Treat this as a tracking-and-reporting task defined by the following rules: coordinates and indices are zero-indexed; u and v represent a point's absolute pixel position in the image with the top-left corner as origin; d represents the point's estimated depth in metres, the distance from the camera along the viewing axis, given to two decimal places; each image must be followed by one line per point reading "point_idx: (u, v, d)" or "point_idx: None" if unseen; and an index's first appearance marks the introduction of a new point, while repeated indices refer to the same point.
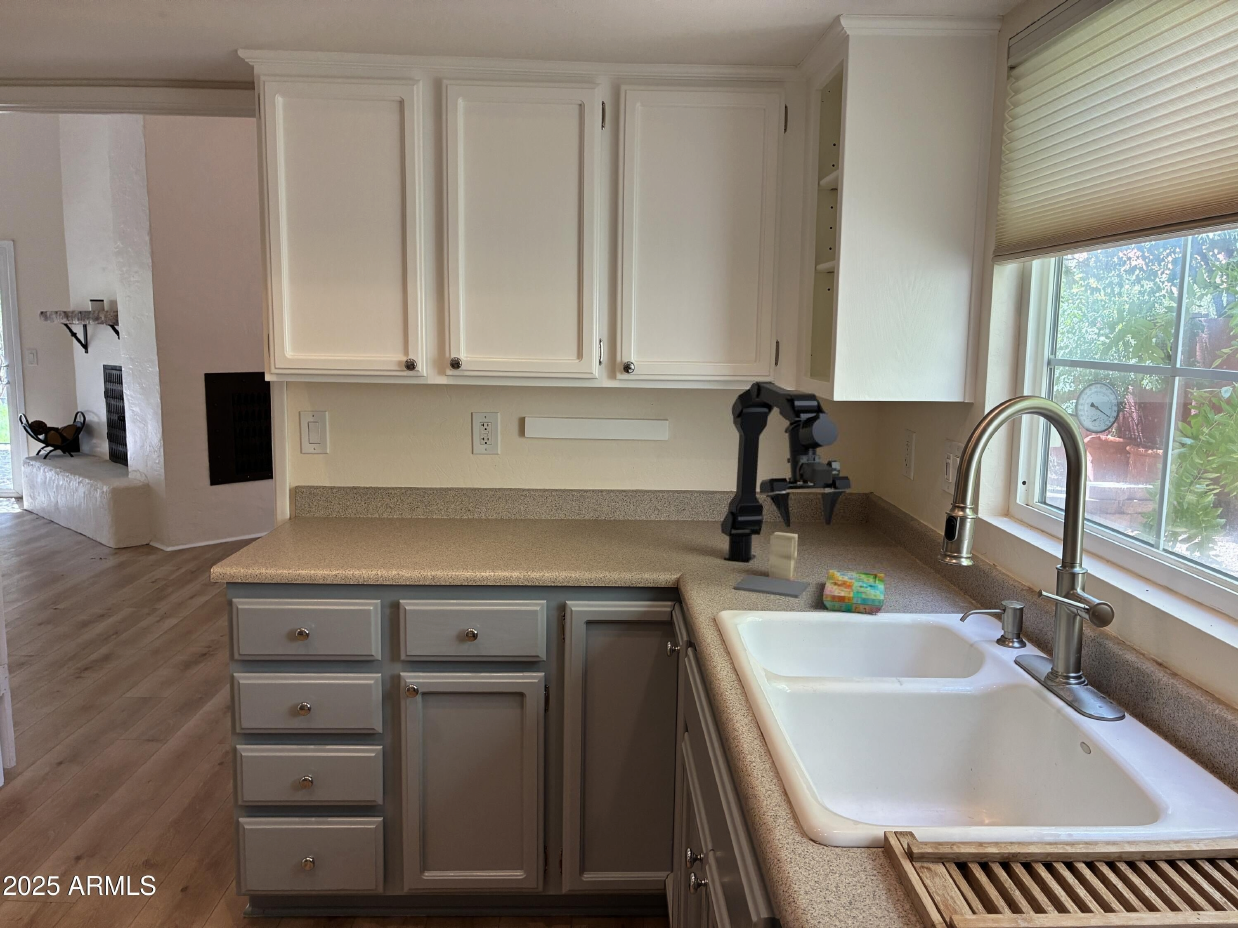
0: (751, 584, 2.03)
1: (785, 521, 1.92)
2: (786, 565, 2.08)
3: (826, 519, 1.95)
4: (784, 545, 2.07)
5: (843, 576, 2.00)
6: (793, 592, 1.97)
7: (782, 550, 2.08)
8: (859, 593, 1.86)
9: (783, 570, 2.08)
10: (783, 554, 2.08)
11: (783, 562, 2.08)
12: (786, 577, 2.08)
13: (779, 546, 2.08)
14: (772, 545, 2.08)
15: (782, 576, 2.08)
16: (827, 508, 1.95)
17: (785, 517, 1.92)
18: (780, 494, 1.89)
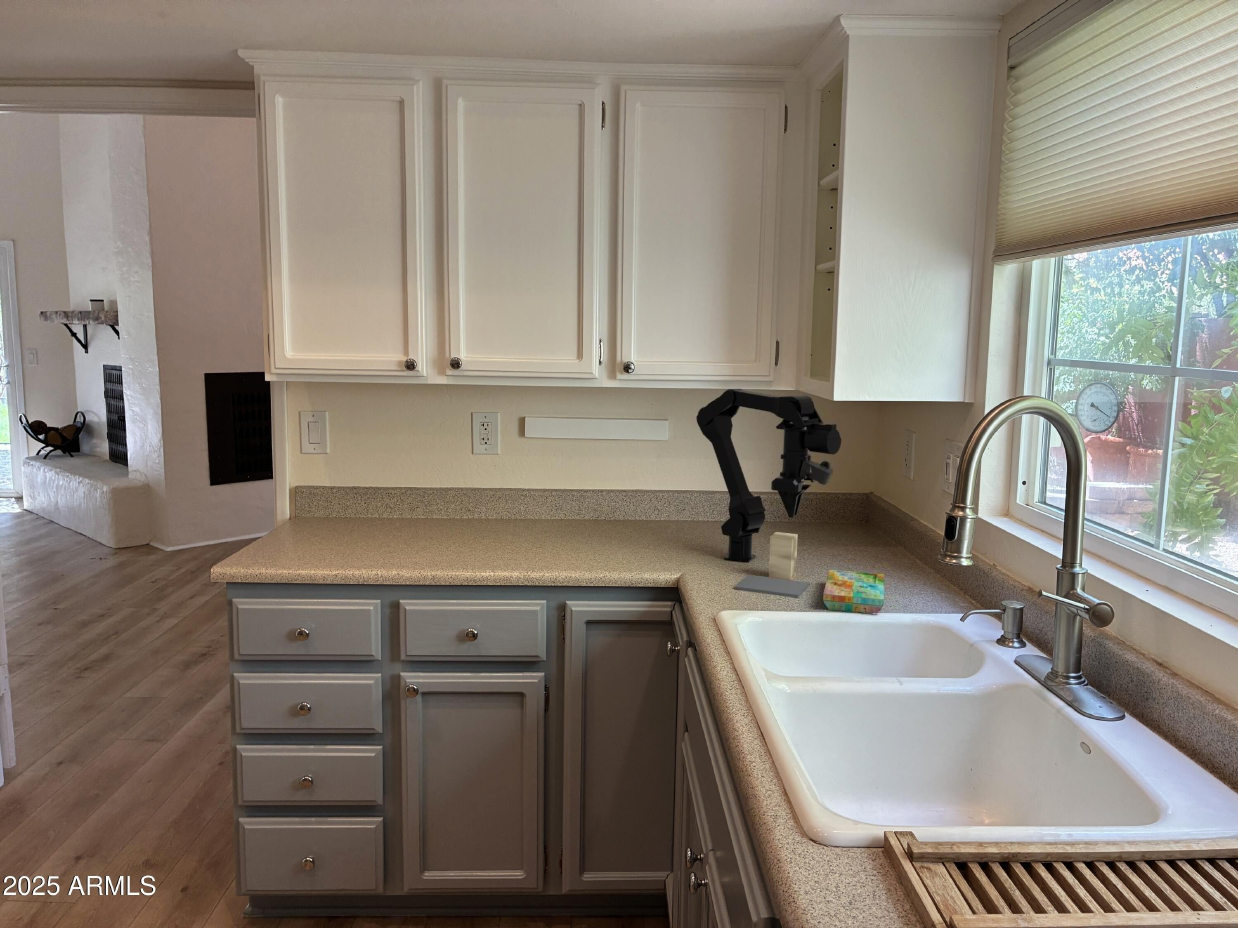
0: (751, 584, 2.03)
1: (790, 512, 2.14)
2: (786, 565, 2.08)
3: None
4: (784, 545, 2.07)
5: (843, 576, 2.00)
6: (793, 592, 1.97)
7: (782, 550, 2.08)
8: (859, 593, 1.86)
9: (783, 570, 2.08)
10: (783, 554, 2.08)
11: (783, 562, 2.08)
12: (786, 577, 2.08)
13: (779, 546, 2.08)
14: (772, 545, 2.08)
15: (782, 576, 2.08)
16: None
17: (792, 509, 2.13)
18: (801, 491, 2.10)
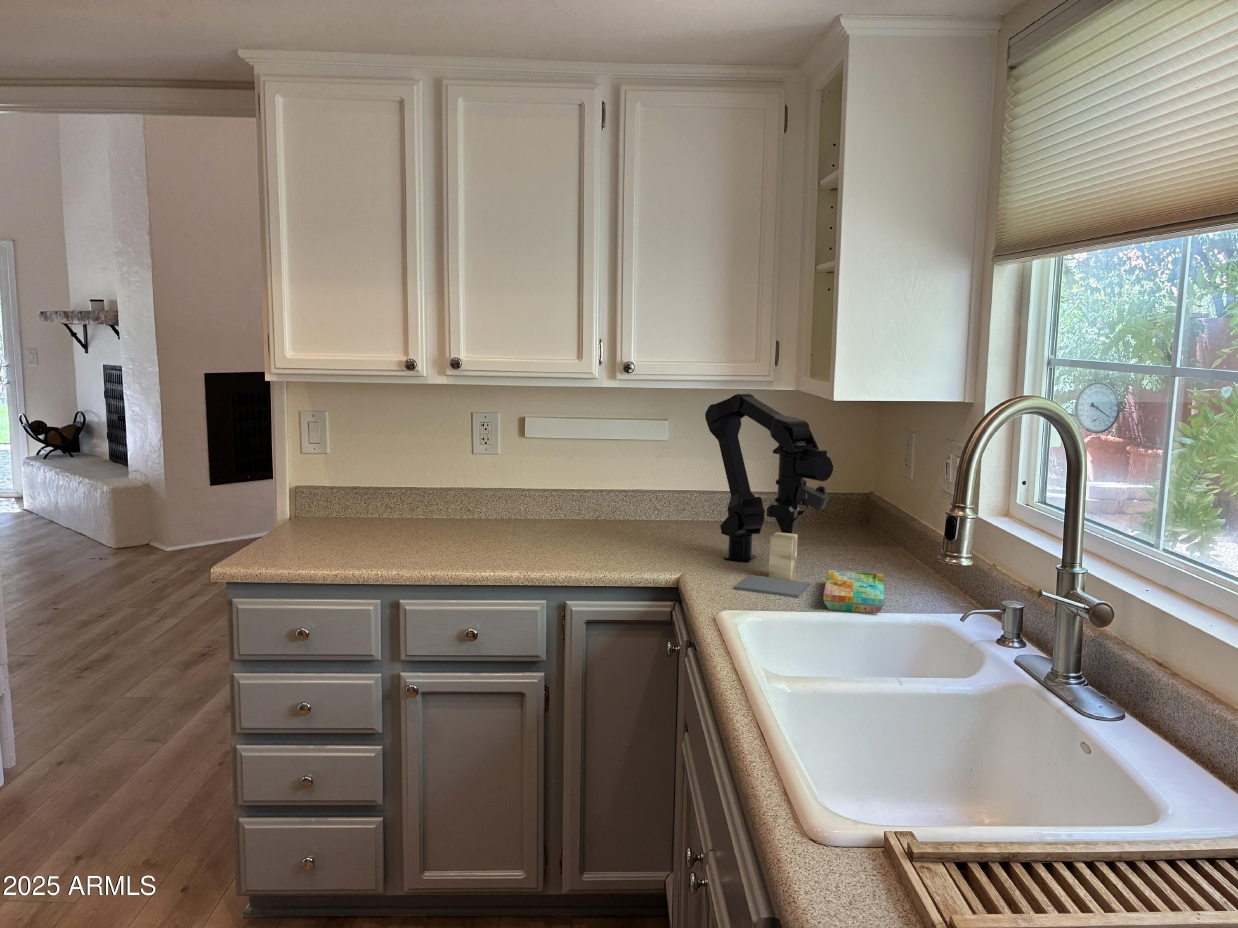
0: (751, 584, 2.03)
1: None
2: (786, 565, 2.08)
3: None
4: (784, 545, 2.07)
5: (842, 576, 2.00)
6: (793, 592, 1.97)
7: (782, 550, 2.08)
8: (859, 593, 1.86)
9: (783, 570, 2.08)
10: (783, 554, 2.08)
11: (783, 562, 2.08)
12: (786, 577, 2.08)
13: (779, 546, 2.08)
14: (772, 545, 2.08)
15: (782, 576, 2.08)
16: None
17: None
18: (798, 516, 2.09)
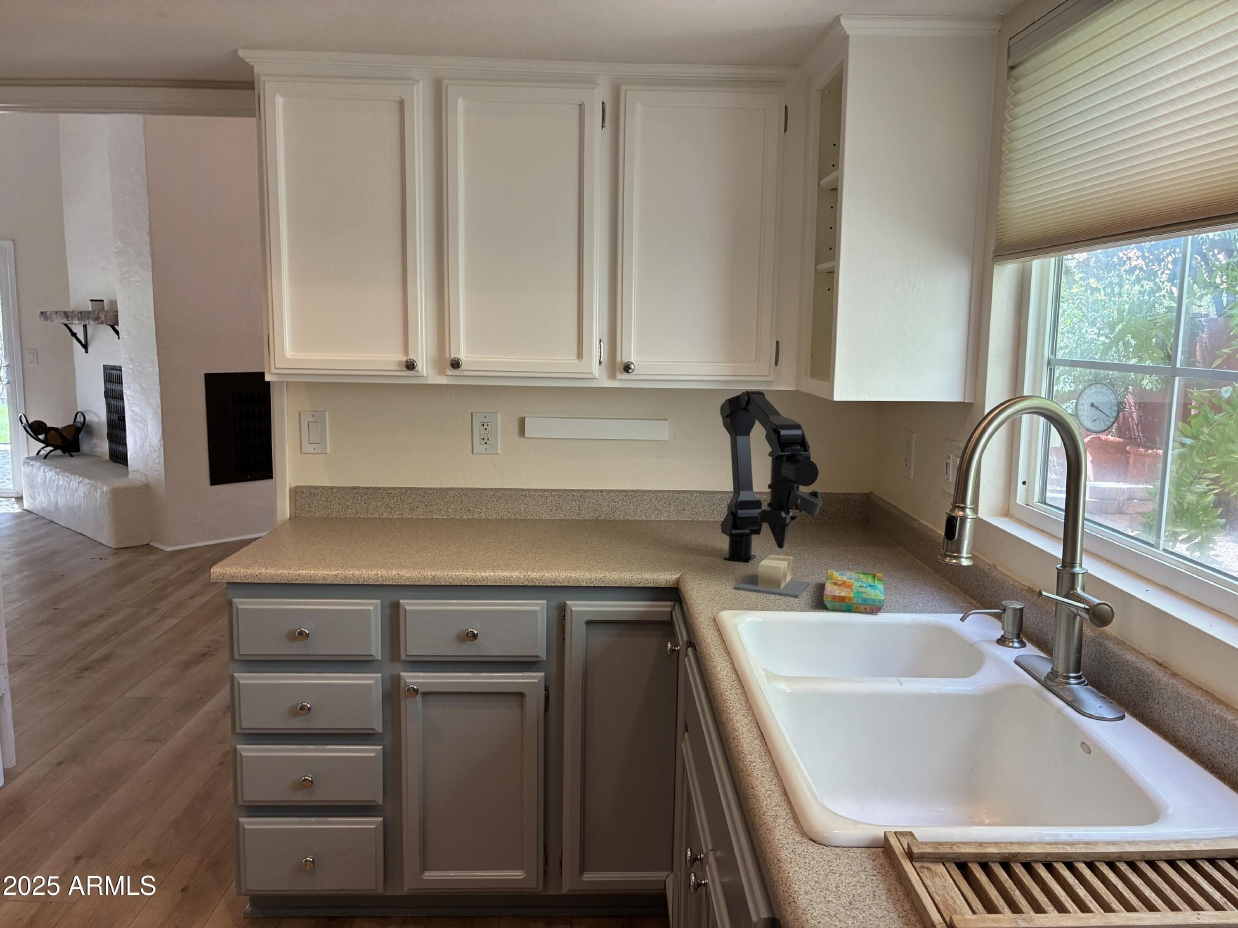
0: (751, 584, 2.03)
1: (779, 543, 2.07)
2: None
3: None
4: None
5: (842, 576, 2.00)
6: (793, 592, 1.97)
7: None
8: (859, 593, 1.86)
9: None
10: None
11: None
12: None
13: None
14: None
15: None
16: None
17: (782, 540, 2.06)
18: (791, 522, 2.03)
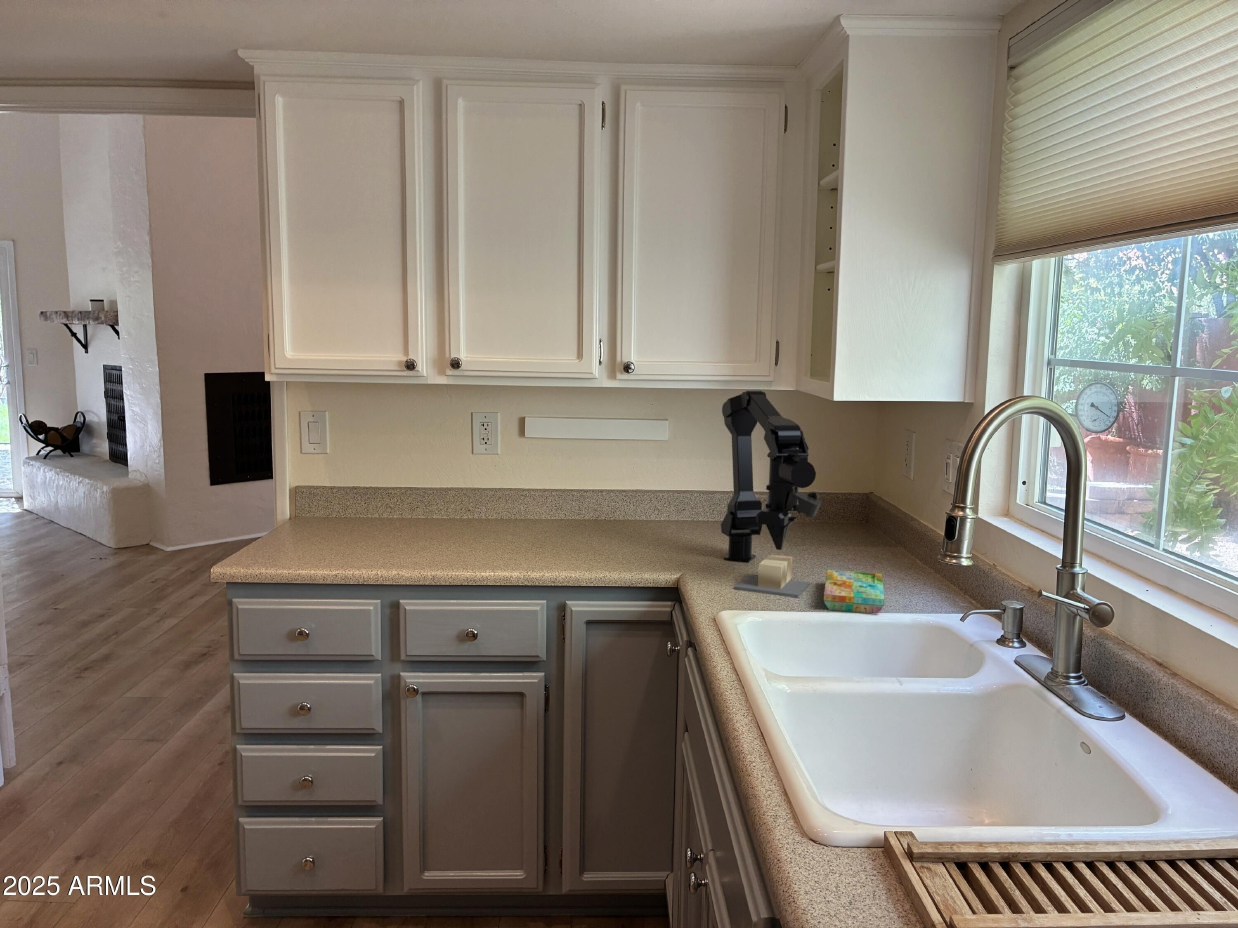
0: (751, 584, 2.03)
1: (778, 544, 2.06)
2: None
3: None
4: None
5: (841, 576, 2.00)
6: (793, 592, 1.97)
7: None
8: (859, 593, 1.86)
9: None
10: None
11: None
12: None
13: None
14: None
15: None
16: None
17: (780, 541, 2.05)
18: (789, 523, 2.02)
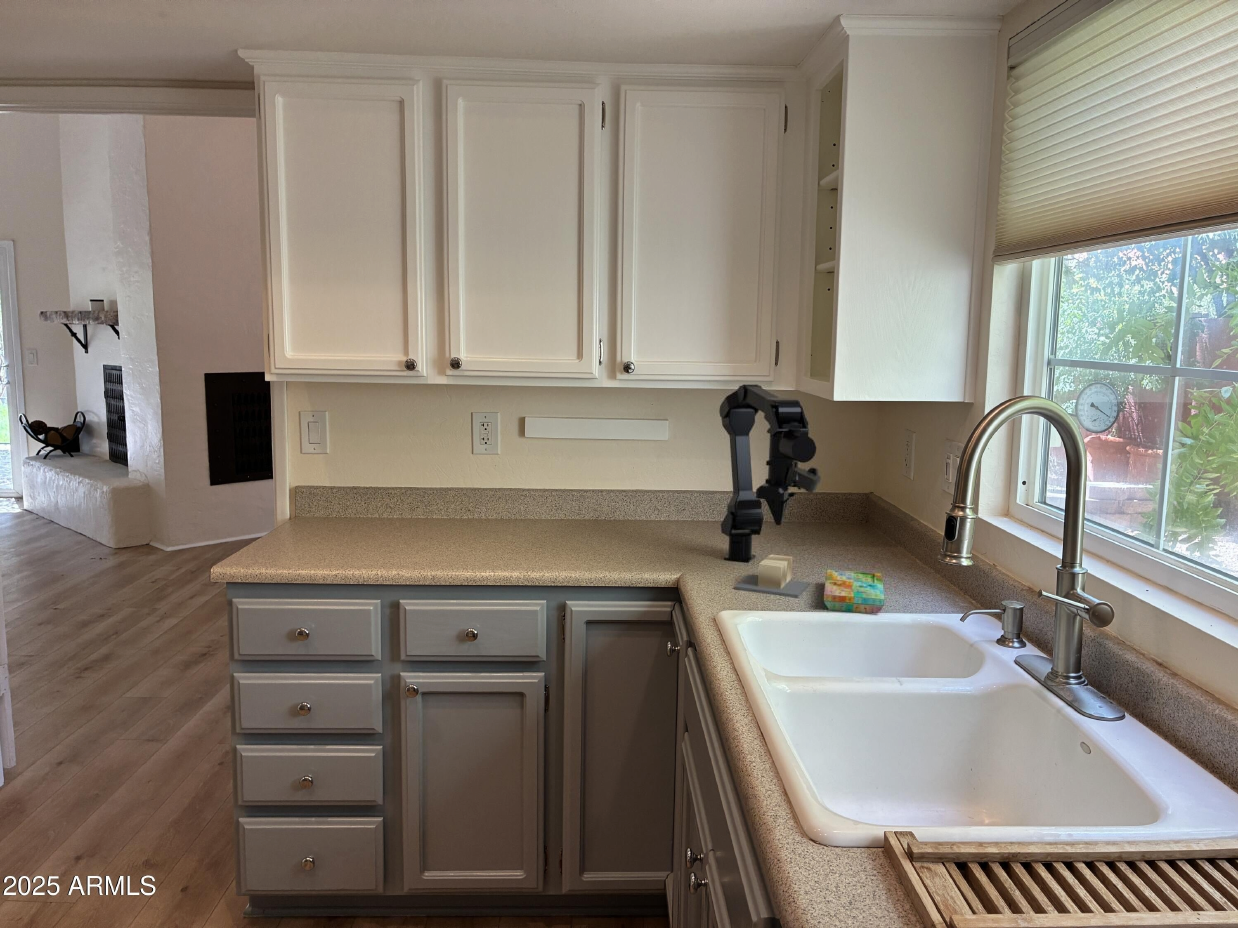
0: (751, 584, 2.03)
1: (777, 520, 2.06)
2: None
3: None
4: None
5: (841, 576, 2.00)
6: (793, 592, 1.97)
7: None
8: (859, 593, 1.86)
9: None
10: None
11: None
12: None
13: None
14: None
15: None
16: None
17: (780, 517, 2.06)
18: (789, 499, 2.02)
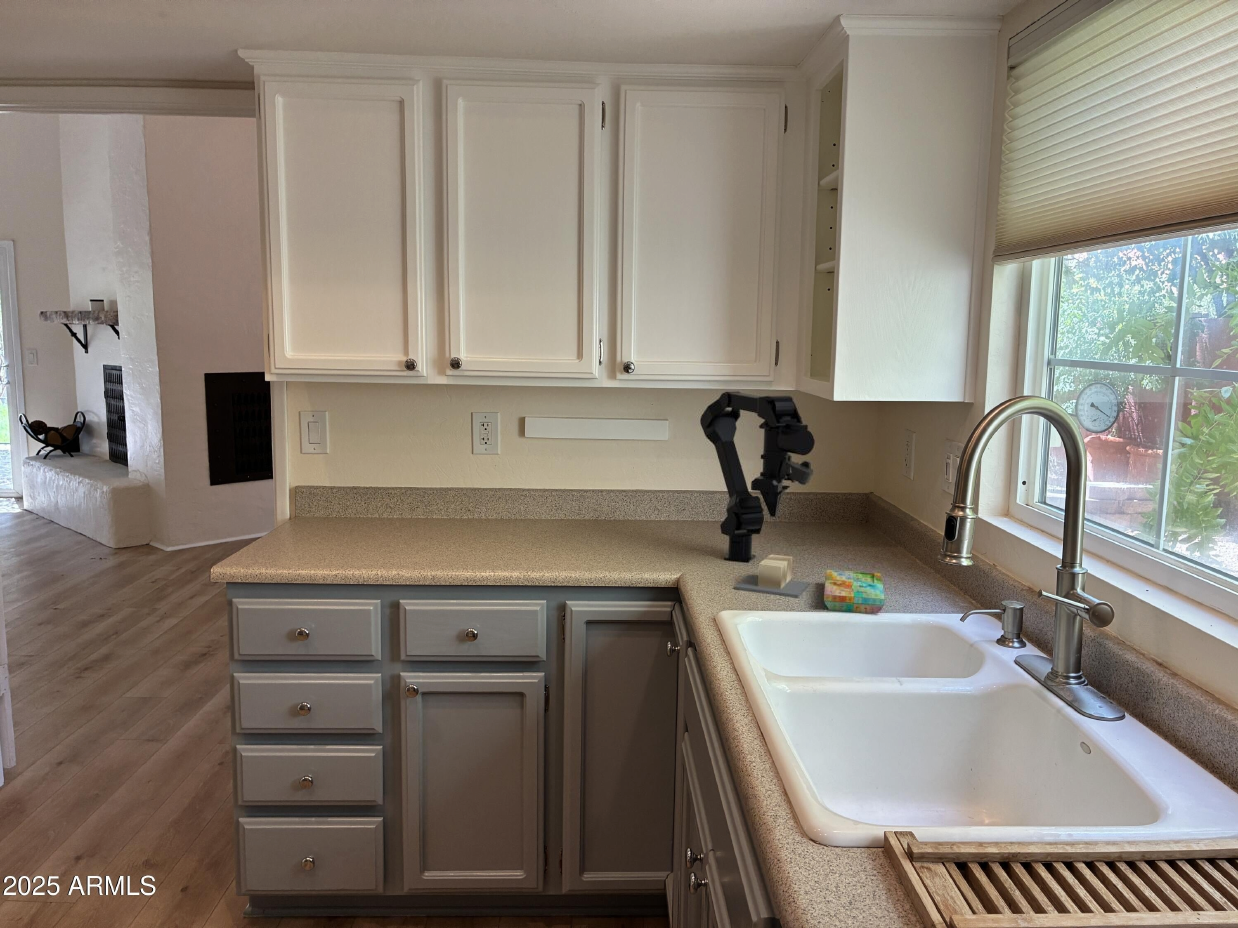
0: (751, 584, 2.03)
1: (772, 512, 2.15)
2: None
3: None
4: None
5: (841, 576, 2.00)
6: (793, 592, 1.97)
7: None
8: (860, 593, 1.86)
9: None
10: None
11: None
12: None
13: None
14: None
15: None
16: None
17: (774, 509, 2.14)
18: (783, 491, 2.11)
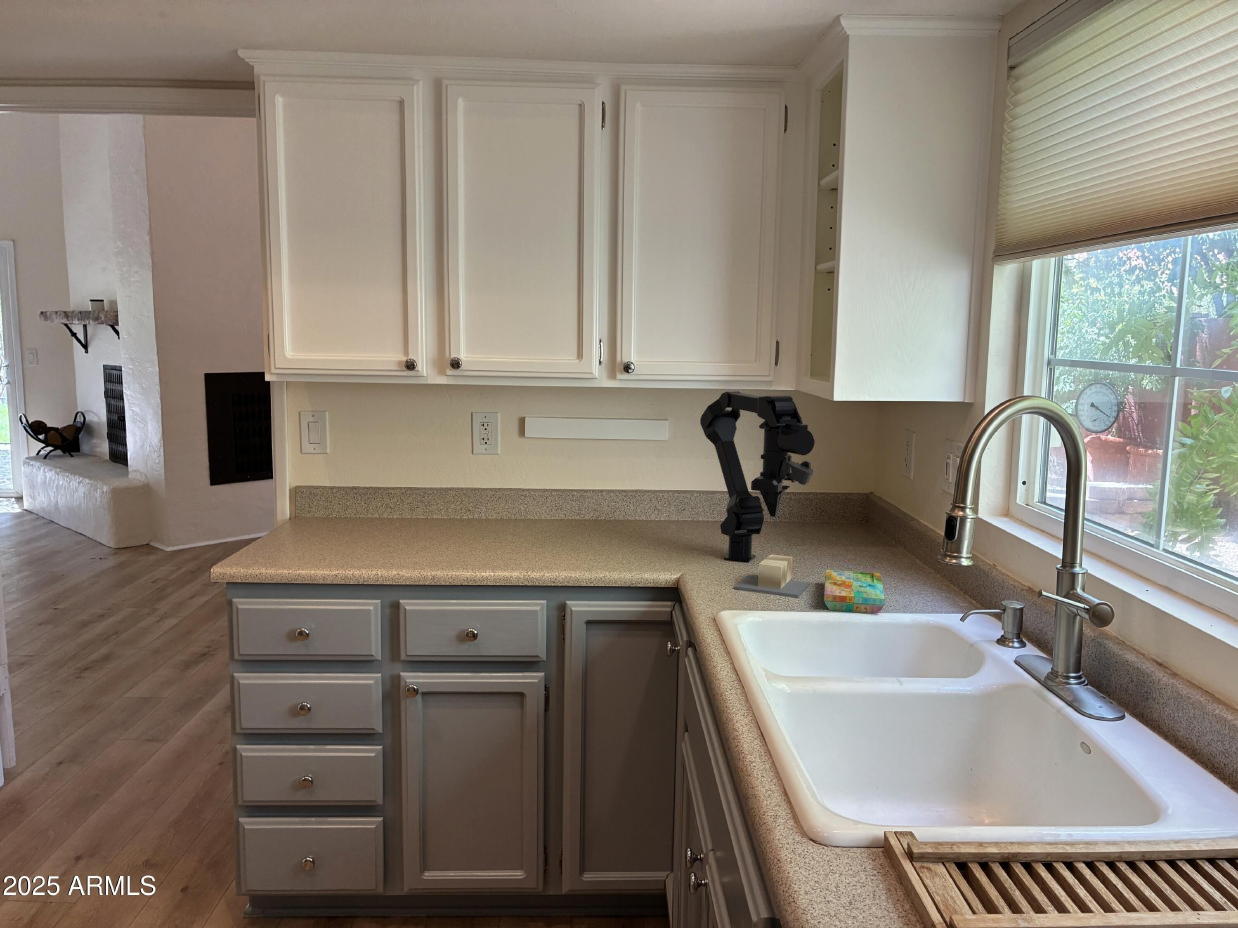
0: (751, 584, 2.03)
1: (772, 512, 2.15)
2: None
3: None
4: None
5: (840, 576, 2.00)
6: (793, 592, 1.97)
7: None
8: (860, 593, 1.86)
9: None
10: None
11: None
12: None
13: None
14: None
15: None
16: None
17: (774, 509, 2.14)
18: (783, 491, 2.11)
